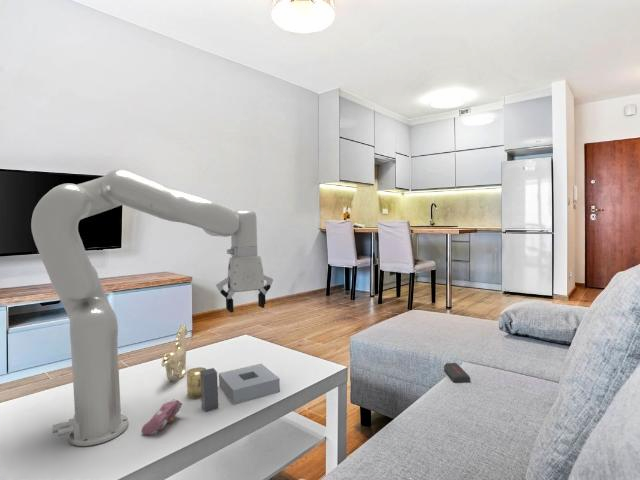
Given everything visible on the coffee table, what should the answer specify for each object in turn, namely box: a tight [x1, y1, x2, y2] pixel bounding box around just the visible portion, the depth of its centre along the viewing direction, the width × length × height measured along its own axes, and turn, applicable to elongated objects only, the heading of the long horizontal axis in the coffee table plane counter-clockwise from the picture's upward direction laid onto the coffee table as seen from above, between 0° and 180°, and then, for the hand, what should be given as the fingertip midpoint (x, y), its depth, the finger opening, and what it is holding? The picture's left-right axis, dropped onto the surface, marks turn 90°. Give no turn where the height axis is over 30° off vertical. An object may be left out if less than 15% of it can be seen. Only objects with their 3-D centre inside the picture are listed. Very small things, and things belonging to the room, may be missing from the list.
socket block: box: [218, 363, 281, 405], centre depth 113 cm, size 14×14×4 cm
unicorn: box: [161, 320, 189, 382], centre depth 121 cm, size 20×4×17 cm, turn 0°
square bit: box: [200, 367, 219, 413], centre depth 102 cm, size 4×4×10 cm
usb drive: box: [443, 362, 471, 384], centre depth 120 cm, size 5×12×3 cm, turn 0°
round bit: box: [186, 366, 208, 400], centre depth 110 cm, size 6×6×7 cm
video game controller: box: [141, 398, 183, 436], centre depth 93 cm, size 10×5×7 cm, turn 169°
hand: (246, 309), depth 112 cm, fingers open, 9 cm apart
